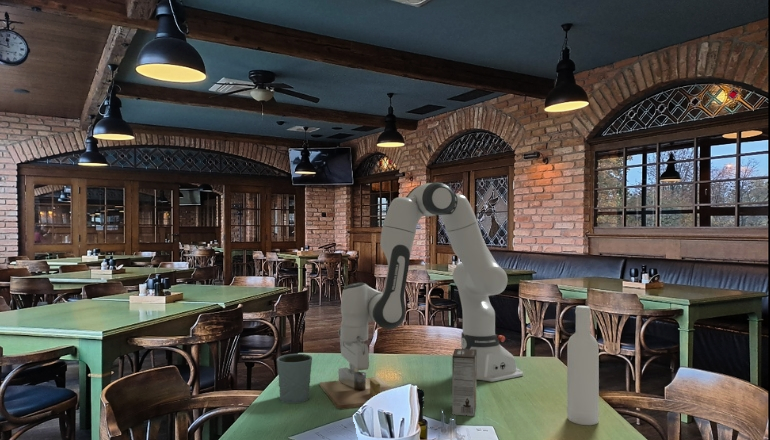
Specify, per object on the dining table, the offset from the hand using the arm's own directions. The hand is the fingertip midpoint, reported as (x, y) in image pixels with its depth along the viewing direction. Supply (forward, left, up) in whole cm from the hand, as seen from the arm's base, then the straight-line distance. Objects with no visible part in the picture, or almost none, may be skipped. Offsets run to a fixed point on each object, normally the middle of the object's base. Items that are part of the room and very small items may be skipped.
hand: (354, 377), depth 167 cm
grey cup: (+21, +7, -3) cm, 22 cm away
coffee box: (-22, +32, -3) cm, 39 cm away
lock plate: (+1, +8, -3) cm, 8 cm away
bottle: (-48, +49, -3) cm, 69 cm away
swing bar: (+2, +4, -1) cm, 4 cm away
